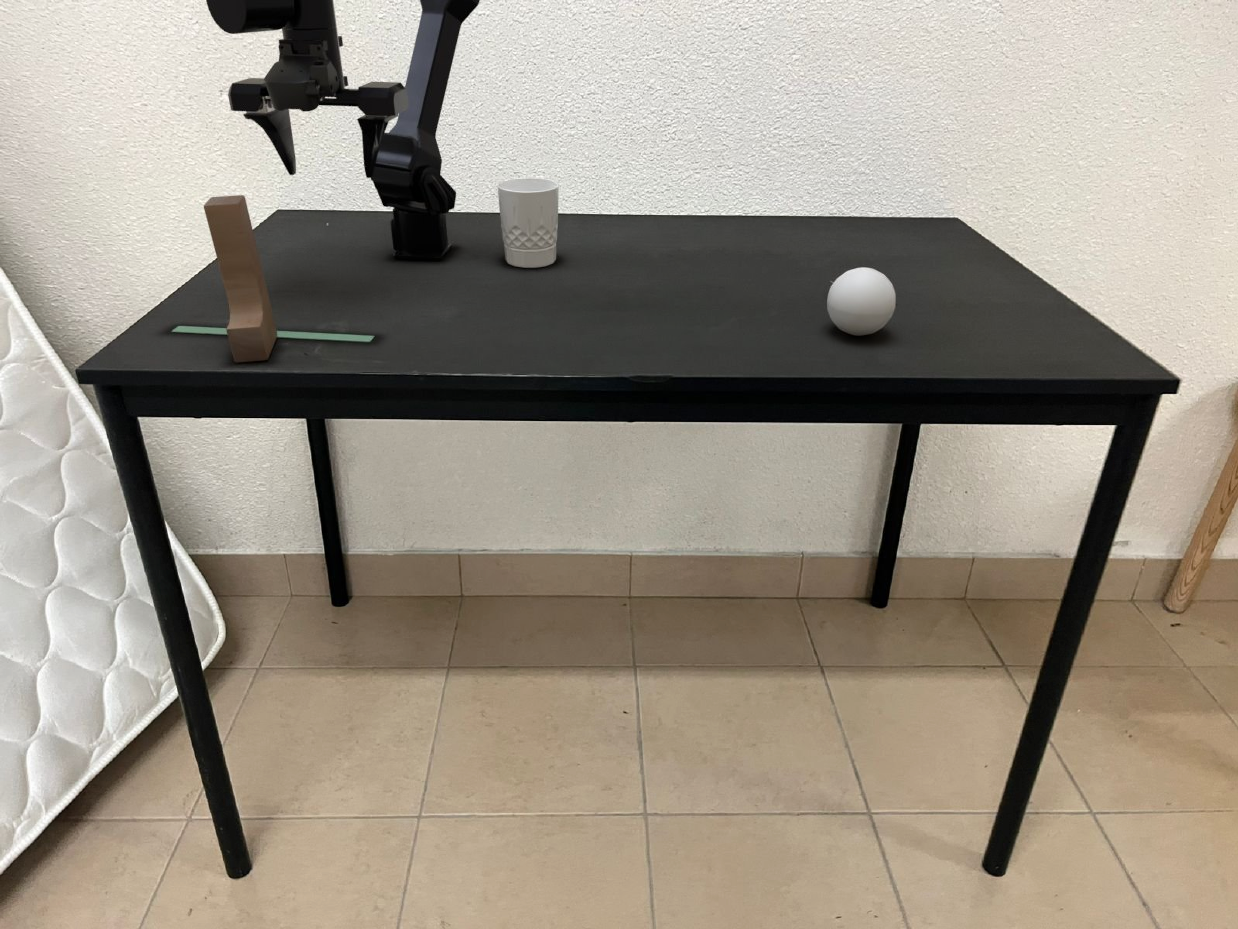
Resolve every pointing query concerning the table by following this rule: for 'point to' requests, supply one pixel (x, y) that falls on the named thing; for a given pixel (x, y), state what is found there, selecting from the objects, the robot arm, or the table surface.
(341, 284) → the table surface
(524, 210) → the white cup
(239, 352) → the wooden block
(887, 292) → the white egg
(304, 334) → the tape strip
